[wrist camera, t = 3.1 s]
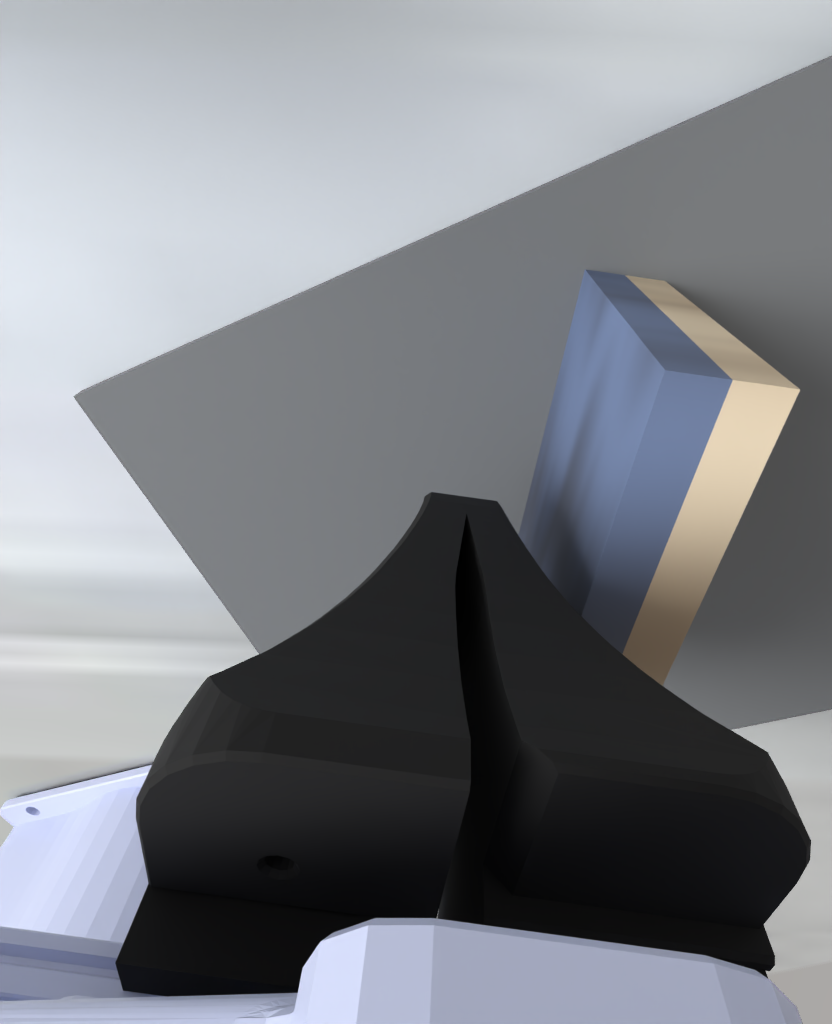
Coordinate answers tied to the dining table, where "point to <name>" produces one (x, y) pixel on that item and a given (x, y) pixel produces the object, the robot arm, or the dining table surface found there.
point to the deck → (647, 461)
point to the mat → (516, 391)
